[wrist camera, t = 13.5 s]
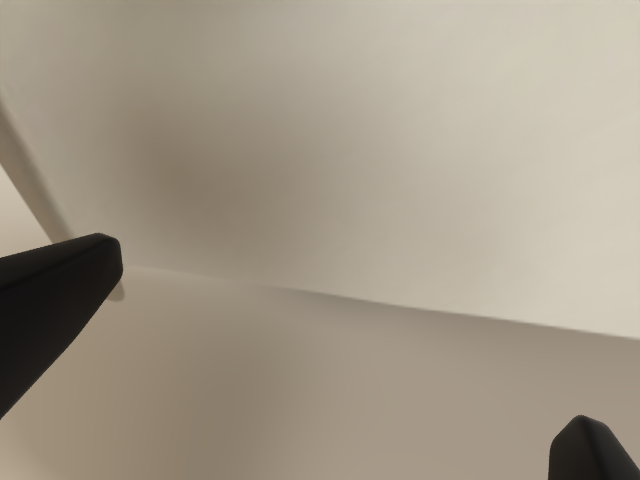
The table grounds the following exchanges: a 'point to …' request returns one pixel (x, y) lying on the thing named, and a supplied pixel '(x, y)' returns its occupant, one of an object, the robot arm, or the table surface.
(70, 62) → the table surface
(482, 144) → the table surface
